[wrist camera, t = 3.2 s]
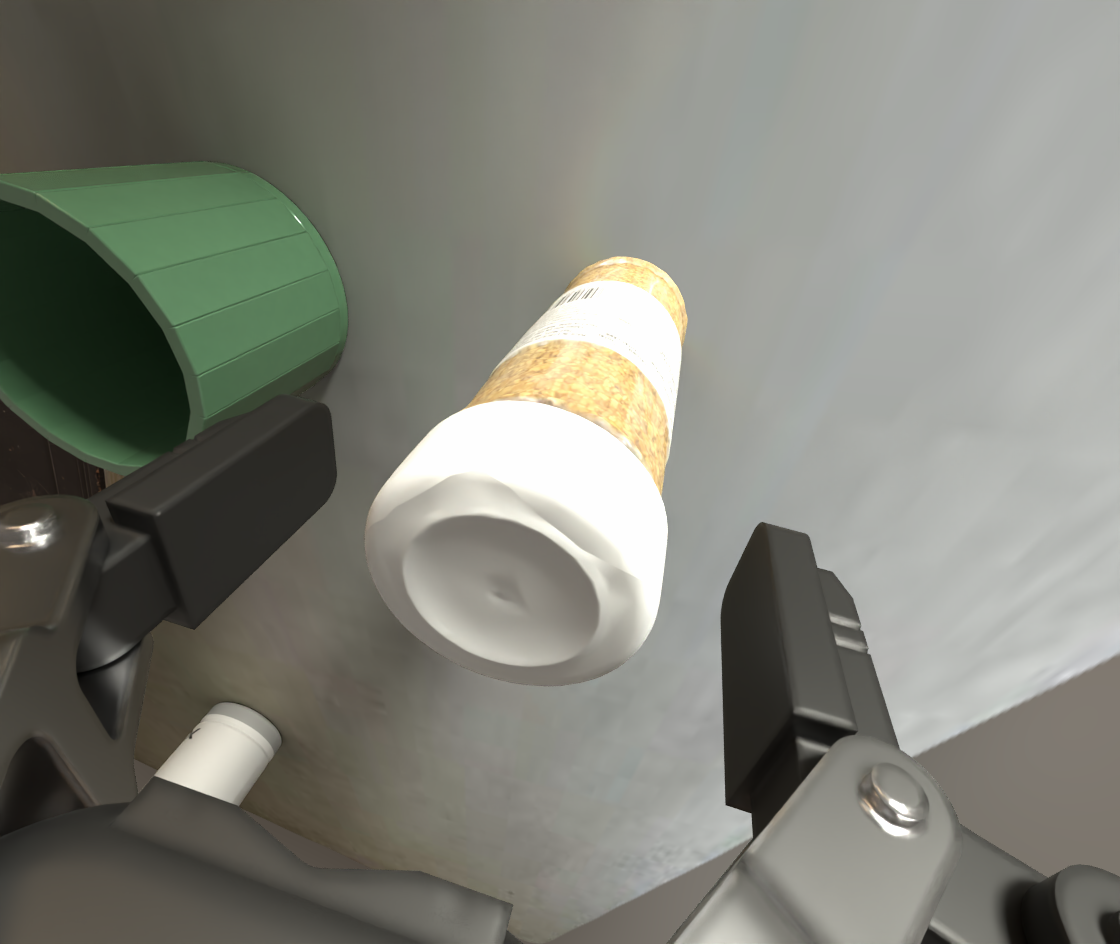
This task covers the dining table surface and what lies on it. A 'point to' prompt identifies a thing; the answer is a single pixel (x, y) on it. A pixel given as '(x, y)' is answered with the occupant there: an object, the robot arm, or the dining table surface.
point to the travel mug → (224, 753)
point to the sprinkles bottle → (544, 492)
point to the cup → (157, 304)
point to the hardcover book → (42, 465)
